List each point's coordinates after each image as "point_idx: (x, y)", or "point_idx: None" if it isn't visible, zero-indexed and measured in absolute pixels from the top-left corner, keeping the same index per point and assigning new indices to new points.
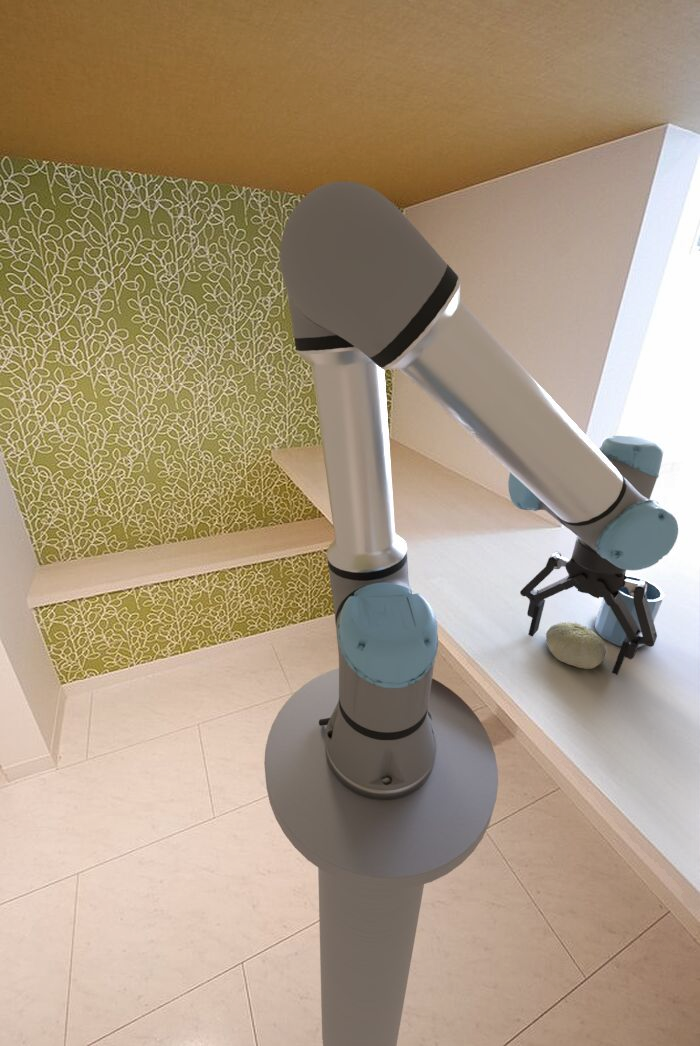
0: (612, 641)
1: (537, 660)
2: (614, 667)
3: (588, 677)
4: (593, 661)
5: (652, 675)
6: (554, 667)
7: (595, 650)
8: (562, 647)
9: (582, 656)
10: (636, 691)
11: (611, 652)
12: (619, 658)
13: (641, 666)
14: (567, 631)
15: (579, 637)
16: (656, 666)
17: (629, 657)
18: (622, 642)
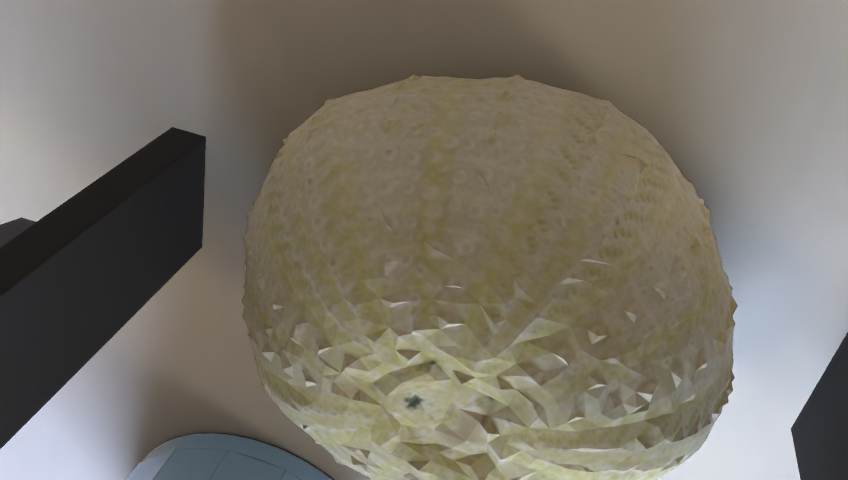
0: (272, 456)
1: (799, 37)
2: (171, 157)
3: (355, 30)
4: (304, 129)
5: None
6: (632, 15)
7: (284, 229)
8: (585, 171)
9: (389, 126)
10: (62, 47)
11: None
12: (98, 201)
13: None
14: (551, 379)
15: (427, 324)
16: None
17: (25, 229)
18: (212, 456)
